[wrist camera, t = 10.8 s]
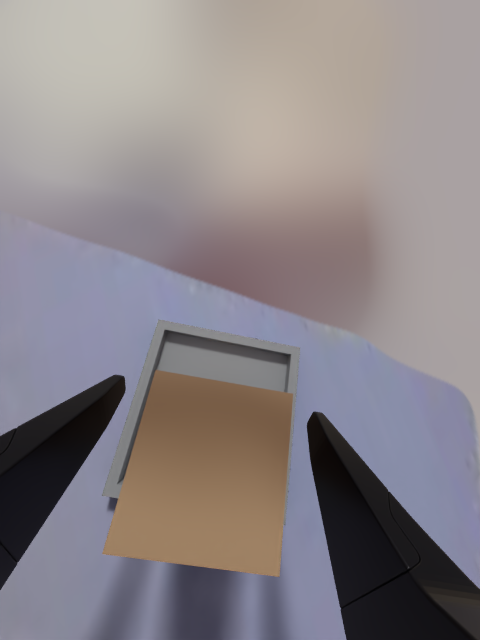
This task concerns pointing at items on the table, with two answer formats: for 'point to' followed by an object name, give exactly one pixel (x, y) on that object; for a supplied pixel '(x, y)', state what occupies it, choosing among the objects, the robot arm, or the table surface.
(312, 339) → the table surface
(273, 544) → the tan slab
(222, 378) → the box
